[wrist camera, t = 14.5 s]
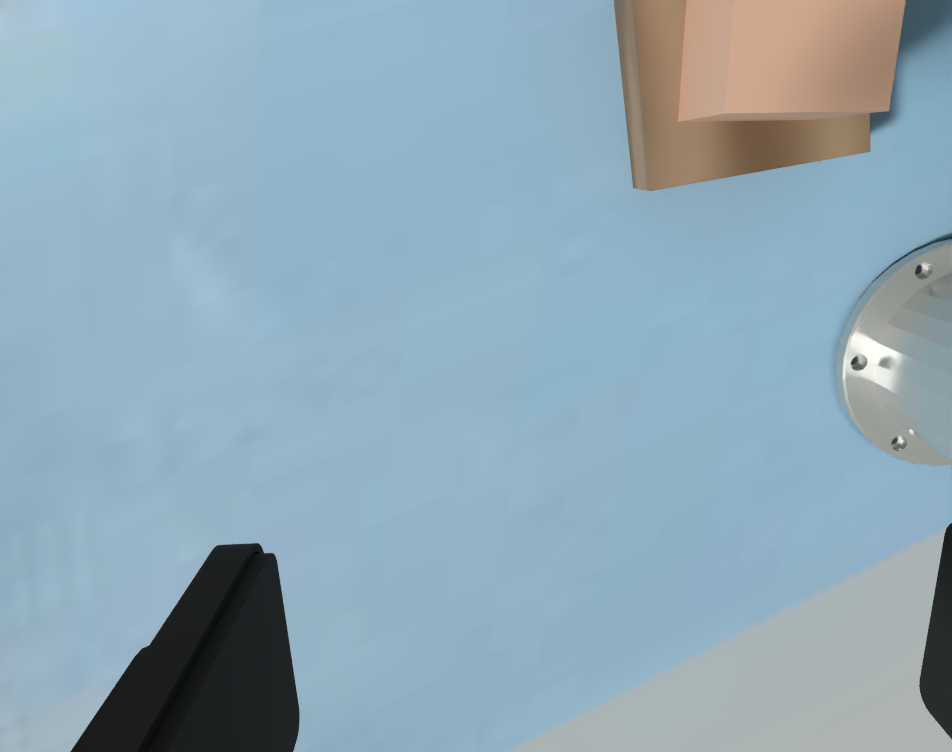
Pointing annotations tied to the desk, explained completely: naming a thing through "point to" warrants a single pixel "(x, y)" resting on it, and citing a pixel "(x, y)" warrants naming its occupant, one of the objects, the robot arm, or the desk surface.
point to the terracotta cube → (788, 59)
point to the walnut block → (705, 142)
